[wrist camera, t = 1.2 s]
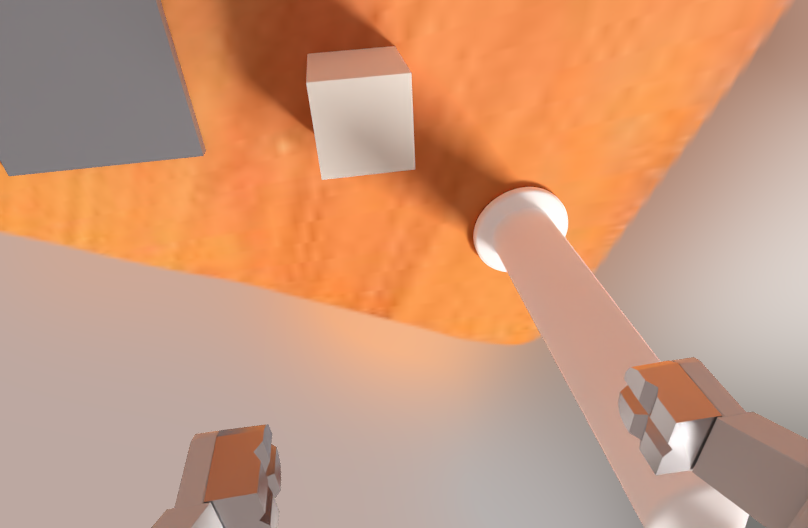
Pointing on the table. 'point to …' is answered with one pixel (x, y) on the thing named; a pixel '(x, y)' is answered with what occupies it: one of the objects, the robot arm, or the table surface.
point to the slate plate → (90, 86)
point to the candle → (590, 350)
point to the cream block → (361, 111)
